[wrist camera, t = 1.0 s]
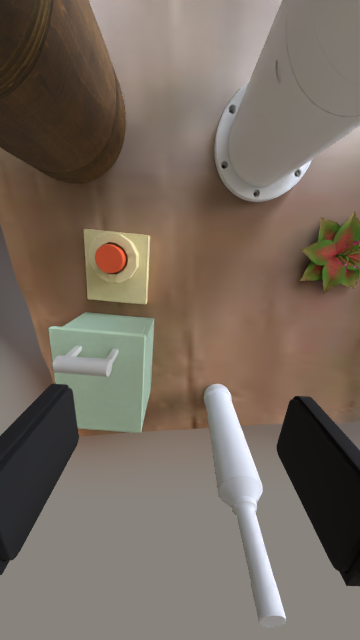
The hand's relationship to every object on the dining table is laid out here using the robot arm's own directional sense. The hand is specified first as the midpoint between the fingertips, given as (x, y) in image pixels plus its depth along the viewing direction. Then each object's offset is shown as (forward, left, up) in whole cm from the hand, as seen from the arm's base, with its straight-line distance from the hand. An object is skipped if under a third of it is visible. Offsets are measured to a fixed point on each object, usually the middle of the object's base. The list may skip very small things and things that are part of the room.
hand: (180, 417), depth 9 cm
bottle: (+19, +9, -25) cm, 32 cm away
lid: (+11, -10, -16) cm, 22 cm away
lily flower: (-8, +23, -25) cm, 35 cm away
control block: (-3, -10, -25) cm, 27 cm away
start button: (-5, -10, -22) cm, 24 cm away
